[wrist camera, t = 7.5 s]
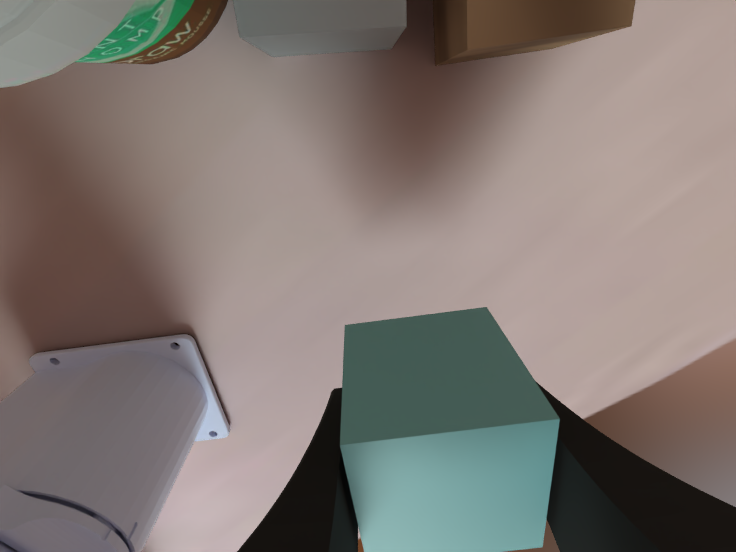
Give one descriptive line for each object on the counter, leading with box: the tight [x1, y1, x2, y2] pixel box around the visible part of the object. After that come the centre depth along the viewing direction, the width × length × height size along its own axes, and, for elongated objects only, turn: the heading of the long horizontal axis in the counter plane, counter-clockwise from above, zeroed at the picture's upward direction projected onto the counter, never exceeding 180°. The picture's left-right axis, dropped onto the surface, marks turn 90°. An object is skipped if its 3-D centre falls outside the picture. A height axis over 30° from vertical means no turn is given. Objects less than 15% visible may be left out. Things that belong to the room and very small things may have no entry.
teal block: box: [340, 307, 560, 552], centre depth 12 cm, size 5×5×5 cm
